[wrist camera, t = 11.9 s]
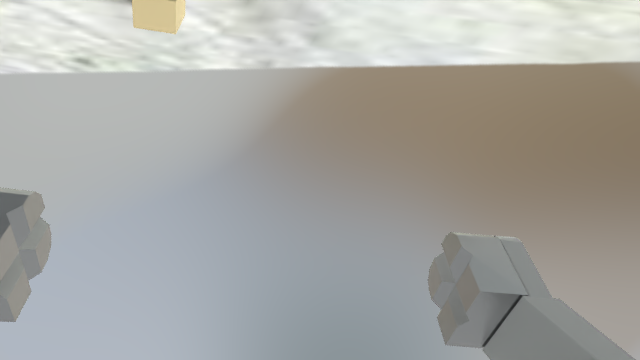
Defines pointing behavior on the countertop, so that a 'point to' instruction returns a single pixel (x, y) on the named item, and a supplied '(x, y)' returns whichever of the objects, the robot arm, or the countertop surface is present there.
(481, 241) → the robot arm
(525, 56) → the countertop surface
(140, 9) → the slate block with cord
